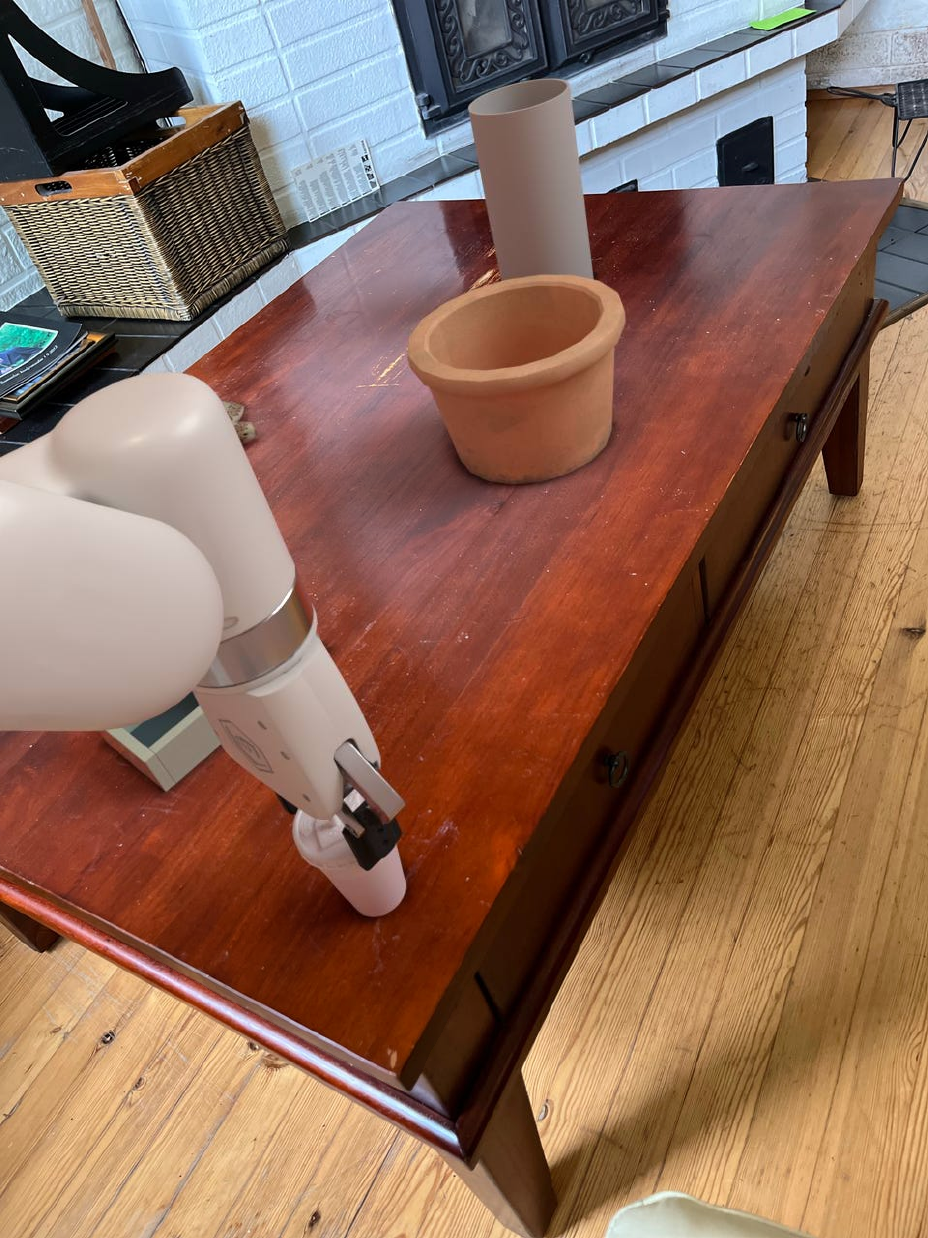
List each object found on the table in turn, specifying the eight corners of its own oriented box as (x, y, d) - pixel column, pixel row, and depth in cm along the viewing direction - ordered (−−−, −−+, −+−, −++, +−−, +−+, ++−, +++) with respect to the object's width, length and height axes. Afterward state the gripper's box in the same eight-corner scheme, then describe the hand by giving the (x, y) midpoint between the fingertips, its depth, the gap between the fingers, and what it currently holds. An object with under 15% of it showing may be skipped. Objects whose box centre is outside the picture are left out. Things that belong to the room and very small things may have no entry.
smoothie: (321, 926, 63) (246, 808, 53) (362, 847, 67) (299, 724, 57) (403, 951, 60) (339, 831, 51) (441, 867, 64) (388, 742, 55)
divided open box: (170, 798, 74) (144, 762, 71) (111, 749, 80) (85, 713, 76) (329, 658, 82) (312, 620, 79) (265, 622, 88) (247, 585, 85)
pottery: (491, 386, 112) (467, 272, 102) (665, 399, 101) (656, 274, 92) (402, 491, 99) (365, 372, 90) (590, 518, 89) (570, 387, 79)
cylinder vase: (487, 301, 130) (448, 110, 113) (554, 265, 134) (525, 75, 117) (543, 322, 121) (510, 118, 104) (613, 283, 125) (591, 81, 108)
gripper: (88, 608, 49) (219, 803, 61) (287, 743, 39) (398, 946, 50) (198, 528, 52) (301, 728, 64) (408, 633, 42) (484, 847, 54)
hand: (343, 822), depth 57 cm, fingers closed on smoothie, 6 cm apart
